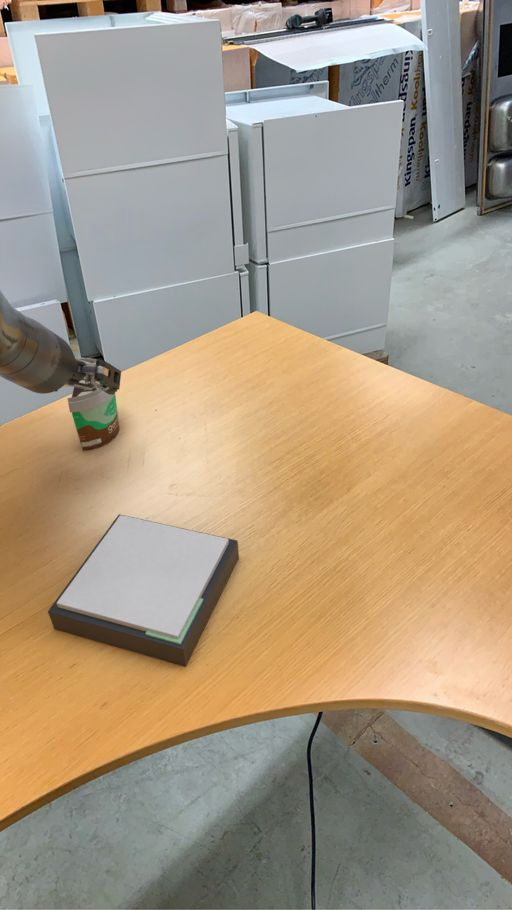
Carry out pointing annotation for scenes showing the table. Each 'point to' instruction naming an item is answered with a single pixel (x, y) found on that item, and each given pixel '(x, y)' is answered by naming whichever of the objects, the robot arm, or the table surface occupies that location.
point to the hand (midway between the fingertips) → (84, 386)
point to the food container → (94, 415)
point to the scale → (147, 588)
